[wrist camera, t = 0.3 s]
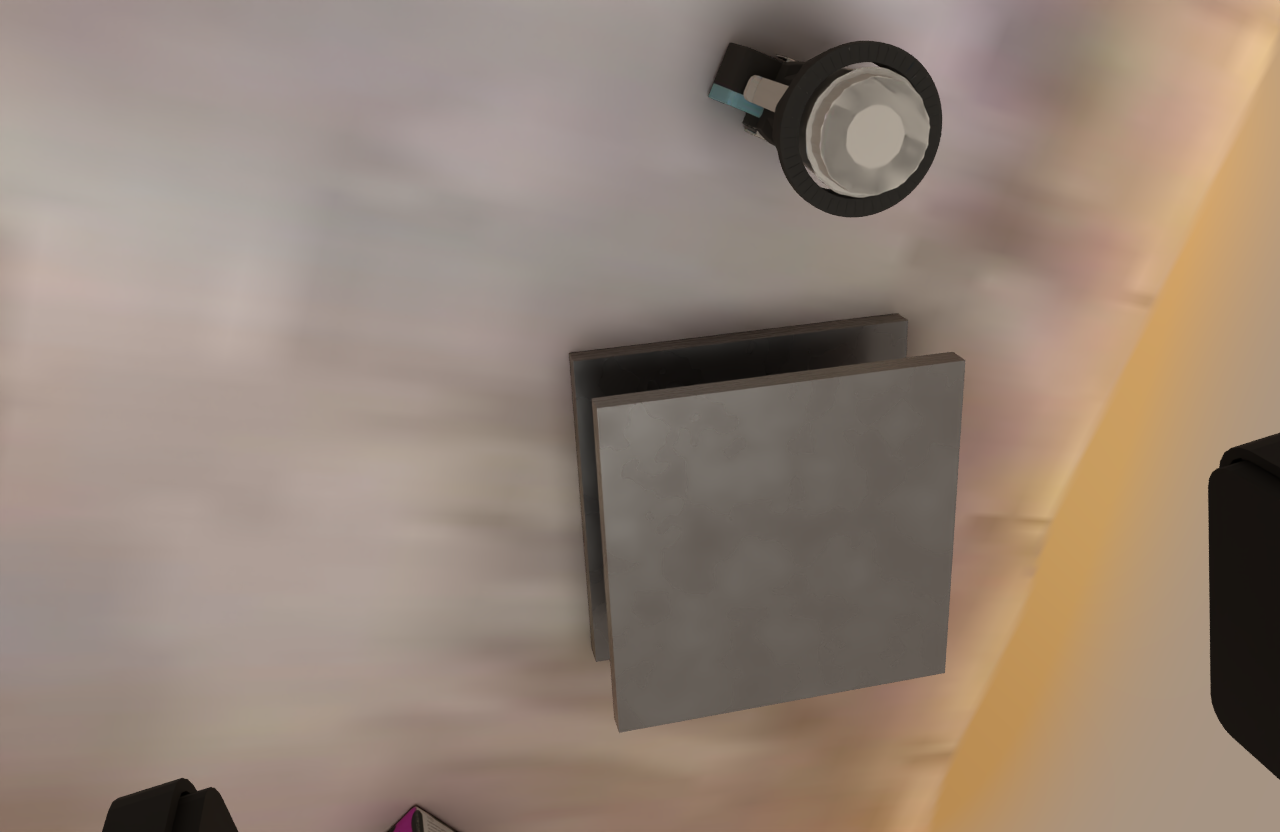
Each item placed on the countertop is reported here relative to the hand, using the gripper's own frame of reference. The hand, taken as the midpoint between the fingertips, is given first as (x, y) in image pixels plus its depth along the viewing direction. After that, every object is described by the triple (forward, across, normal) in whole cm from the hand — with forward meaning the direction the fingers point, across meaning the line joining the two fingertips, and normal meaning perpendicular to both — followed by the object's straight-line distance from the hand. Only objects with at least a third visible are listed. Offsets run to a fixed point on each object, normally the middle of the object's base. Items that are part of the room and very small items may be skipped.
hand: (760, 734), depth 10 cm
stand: (+35, -8, +17) cm, 40 cm away
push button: (+35, -12, +1) cm, 37 cm away
